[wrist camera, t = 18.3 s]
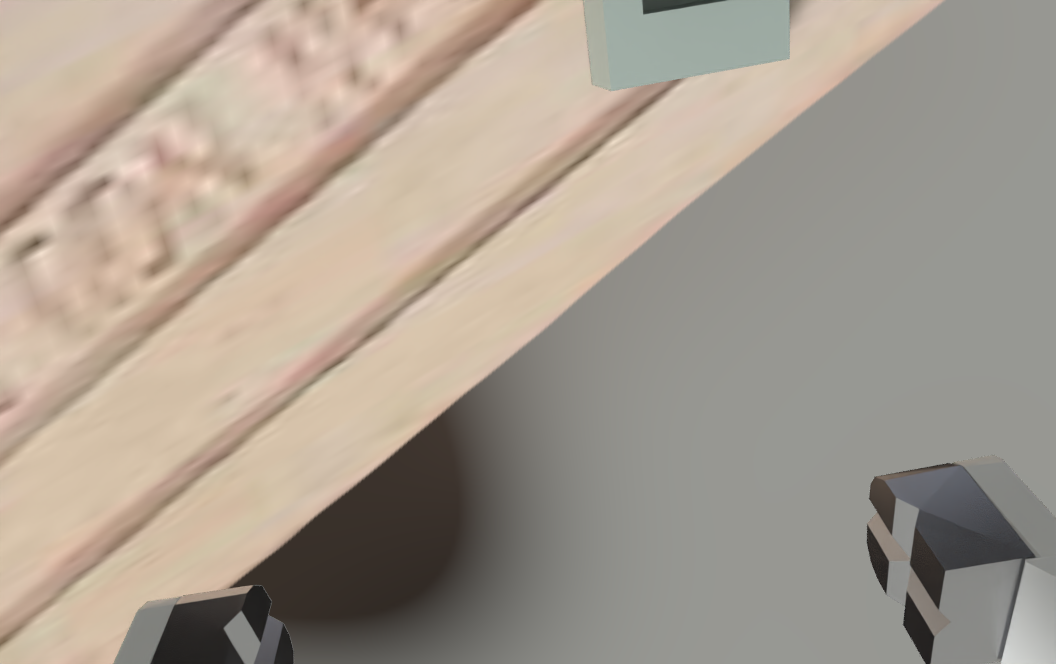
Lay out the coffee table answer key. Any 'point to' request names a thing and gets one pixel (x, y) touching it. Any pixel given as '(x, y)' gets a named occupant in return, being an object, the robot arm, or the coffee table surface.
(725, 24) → the block
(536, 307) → the coffee table surface
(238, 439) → the coffee table surface
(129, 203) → the coffee table surface
